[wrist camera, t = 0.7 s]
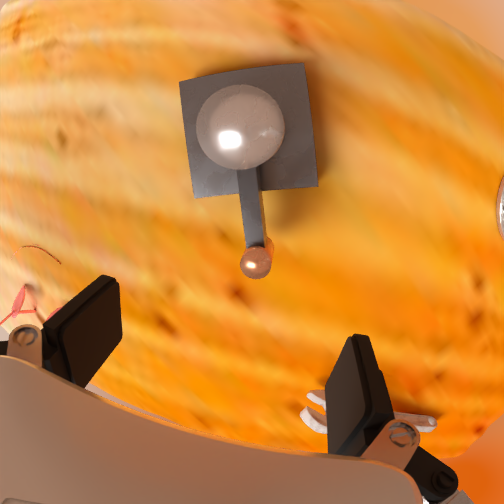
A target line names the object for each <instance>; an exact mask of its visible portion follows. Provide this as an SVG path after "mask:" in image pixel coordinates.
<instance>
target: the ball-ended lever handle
mask: <svg viewBox="0 0 504 504" xmlns="http://www.w3.org/2000/svg"><path fill="white" fill-rule="evenodd" d="M196 134H197V139H198V142H199V144H200V146H201V148H202V150H203V151H204V153H205V154H206V155H207V156H208V157H209V158H210V159H211V160H212V161H214V162H215V163H217V164H218V165H220V166H223V167H226V168H229V169H236V172H237V179H238V187H239V195H240V202H241V210H242V218H243V225H244V233H245V241H246V249H245V252H244V254H243V256H242V259H241V262H240V267H241V270H242V272H243V273H244V274H245V275H246V276H247V277H249V278H252V279H261V278H263V277H265V276H266V275H267V274H268V273H269V271H270V269H271V263H272V257H273V252H274V245H273V242H272V240H271V239H270V238H268V237H267V234H266V225H265V216H264V207H263V198H262V189H261V181H260V172H259V165H260V164H262V163H264V162H265V161H267V160H268V159H270V158H271V157H272V156H273V155H274V154H275V153H276V152H277V151H278V150H279V148H280V146H281V144H282V142H283V139H284V135H285V123H284V119H283V115H282V112H281V110H280V108H279V106H278V104H277V103H276V101H275V100H274V99H273V98H272V97H271V96H270V95H269V94H268V93H266V92H265V91H263V90H261V89H259V88H257V87H254V86H250V85H232V86H228V87H225V88H222V89H220V90H218V91H217V92H215V93H214V94H212V95H211V96H210V97H209V98H208V99H207V100H206V101H205V103H204V104H203V106H202V107H201V109H200V111H199V114H198V117H197V122H196Z"/></svg>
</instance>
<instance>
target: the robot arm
mask: <svg viewBox="0 0 504 504" xmlns="http://www.w3.org/2000/svg"><path fill="white" fill-rule="evenodd" d="M496 208H497V223H498V228H499V231H500V234H501V236H502V238H503V240H504V177H503V179H502V182H501V185H500V188H499V192H498V197H497V207H496ZM43 327H44V328H43V329H41V330H40V329H39V328H38V327H36V326H34V325H29V324H25V325H21V326H18V327H16V328H15V329H14V330H12V332H11V333H10V335H9V340H8V341H0V504H474V503H473V502H472V500H471V499H470V498H469V497H468V496H467V495H466V493H465V492H464V491H463V490H461V491H460V492H459V491H458V490H457V488H458V478H457V475H456V473H455V472H454V471H453V470H452V469H451V468H450V467H448V466H447V465H445V464H444V463H442V462H441V461H440V460H438V459H437V458H435V457H434V456H432V455H431V454H430V453H428V452H427V451H425V450H424V449H422V448H421V447H420V446H418V445H419V443H420V434H419V431H418V429H417V428H416V427H415V426H414V425H413V424H412V423H411V422H409V421H406V420H403V419H395V416H394V412H393V408H392V404H391V401H390V397H389V394H388V390H387V387H386V383H385V380H384V376H383V373H382V371H381V370H379V368H378V364H377V361H376V358H375V355H374V351H373V348H372V345H371V342H370V339H369V336H367V335H361V334H354V335H353V336H352V337H350V336H349V337H348V338H347V340H346V342H345V345H344V347H343V349H342V351H341V354H340V356H339V358H338V360H337V362H336V364H335V366H334V369H333V371H332V373H331V375H330V377H329V379H328V381H327V383H326V386H325V402H326V418H327V437H328V454H326V453H315V452H306V451H298V450H291V449H284V448H277V447H271V446H265V445H259V444H254V443H248V442H243V441H239V440H234V439H229V438H225V437H221V436H217V435H213V434H209V433H205V432H201V431H197V430H194V429H190V428H187V427H183V426H180V425H177V424H173V423H170V422H167V421H164V420H161V419H158V418H155V417H152V416H149V415H146V414H144V413H141V412H138V411H136V410H133V409H131V408H128V407H125V406H123V405H120V404H118V403H115V402H113V401H111V400H108V399H106V398H103V397H101V396H99V395H97V394H95V393H93V392H90V391H88V390H86V389H84V388H85V387H86V385H87V384H88V383H89V381H90V380H91V379H92V377H93V376H94V375H95V373H96V372H97V371H98V369H99V368H100V367H101V366H102V364H103V363H104V362H105V360H106V359H107V358H108V356H109V355H110V354H111V353H112V351H113V350H114V349H115V347H116V346H117V345H118V344H119V342H120V341H121V339H122V322H121V308H120V289H119V283H118V282H116V279H115V278H113V277H110V276H107V275H101V276H100V277H98V278H97V279H96V280H95V281H93V282H92V283H91V284H90V285H88V286H87V287H86V288H85V289H84V290H82V291H81V292H80V293H79V294H77V295H76V296H75V297H74V298H73V299H71V300H70V301H69V302H68V303H67V304H66V305H64V306H63V307H62V308H61V309H60V310H58V311H57V312H56V313H55V314H54V315H53V316H51V317H50V318H49V319H48V320H47V321H46V322H45V323H44V324H43Z"/></svg>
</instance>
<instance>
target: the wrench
mask: <svg viewBox="0 0 504 504" xmlns="http://www.w3.org/2000/svg"><path fill="white" fill-rule="evenodd" d="M307 398H309V399H310V400H312V401H313V402H315V403H317V404H319V405H323V408H324V410H325V412H326V402H325V390H311V391H310V392H309V393H308V394H307ZM300 416H301V418H302V420H303V421H304V422H305V424H306V425H307V426H308V427H310V428H311V429H313V430H314V431H316V432H319V433H323V434H327V418H326V414H325V415H322V414H320V413H318V412H317V411H315V410H313V409H311V408H310V407H308V406H307V407H306V408H305V409H304V410H302V411H301V413H300ZM394 416H395V419H403V420H406V421H409V422H411V423H412V424H413V425H414V426H415V427H416V428H417V429H418V431H419V432H431V431H432V430H433V429H434V428H436V427H437V421H436V420H435V418H434V417H431V416H427V415H416V414H408V413H401V412H394Z"/></svg>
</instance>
